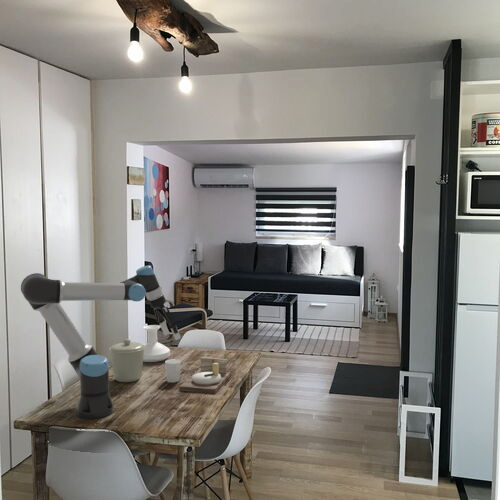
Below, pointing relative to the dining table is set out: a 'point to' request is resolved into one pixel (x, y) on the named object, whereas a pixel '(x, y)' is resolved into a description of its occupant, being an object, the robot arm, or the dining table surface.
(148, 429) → the dining table surface
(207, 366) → the stand
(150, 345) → the white vase
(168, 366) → the white cup
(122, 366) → the canister
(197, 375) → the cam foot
